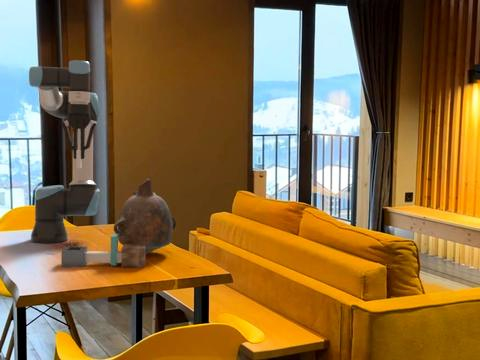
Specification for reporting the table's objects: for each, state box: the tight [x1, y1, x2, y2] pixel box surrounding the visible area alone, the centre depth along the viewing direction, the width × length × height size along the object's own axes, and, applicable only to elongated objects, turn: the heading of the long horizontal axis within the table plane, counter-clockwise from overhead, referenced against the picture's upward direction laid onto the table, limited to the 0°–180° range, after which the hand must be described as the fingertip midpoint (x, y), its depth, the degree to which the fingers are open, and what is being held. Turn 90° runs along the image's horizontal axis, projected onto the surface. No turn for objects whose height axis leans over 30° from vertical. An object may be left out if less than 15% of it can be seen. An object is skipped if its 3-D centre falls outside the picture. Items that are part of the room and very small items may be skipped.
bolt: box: [85, 233, 122, 266], centre depth 230 cm, size 16×5×10 cm, turn 96°
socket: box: [121, 244, 146, 269], centre depth 231 cm, size 8×8×7 cm
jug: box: [113, 178, 176, 255], centre depth 249 cm, size 24×21×30 cm
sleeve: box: [60, 246, 88, 268], centre depth 229 cm, size 8×7×6 cm
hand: (79, 167), depth 235 cm, fingers closed
